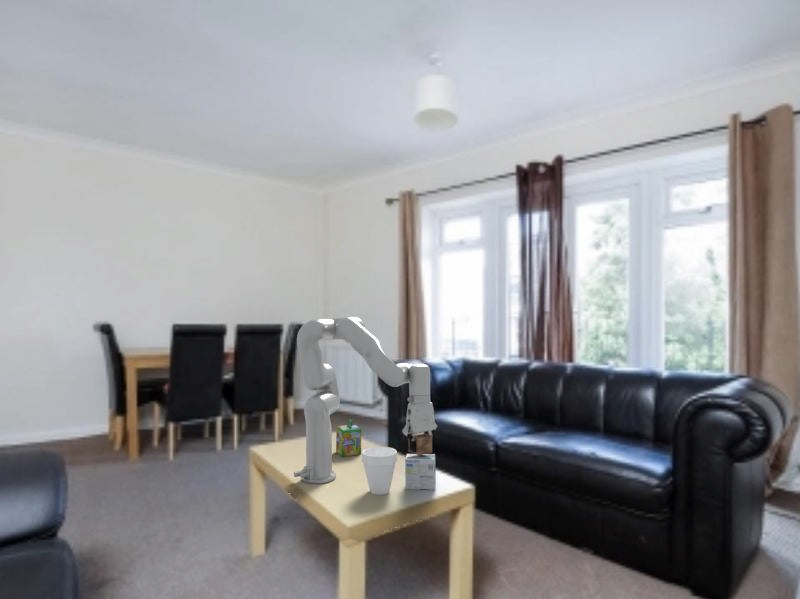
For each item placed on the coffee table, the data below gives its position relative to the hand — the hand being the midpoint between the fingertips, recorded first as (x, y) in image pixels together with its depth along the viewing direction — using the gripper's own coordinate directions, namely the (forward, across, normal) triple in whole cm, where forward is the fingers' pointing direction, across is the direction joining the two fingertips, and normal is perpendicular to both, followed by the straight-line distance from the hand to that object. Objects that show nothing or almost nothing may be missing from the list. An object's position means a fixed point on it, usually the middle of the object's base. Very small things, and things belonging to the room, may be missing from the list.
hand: (420, 449), depth 166 cm
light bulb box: (+13, 0, 0) cm, 13 cm away
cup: (+13, -14, +5) cm, 20 cm away
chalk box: (+13, 0, +51) cm, 53 cm away
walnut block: (+1, 0, 0) cm, 1 cm away
